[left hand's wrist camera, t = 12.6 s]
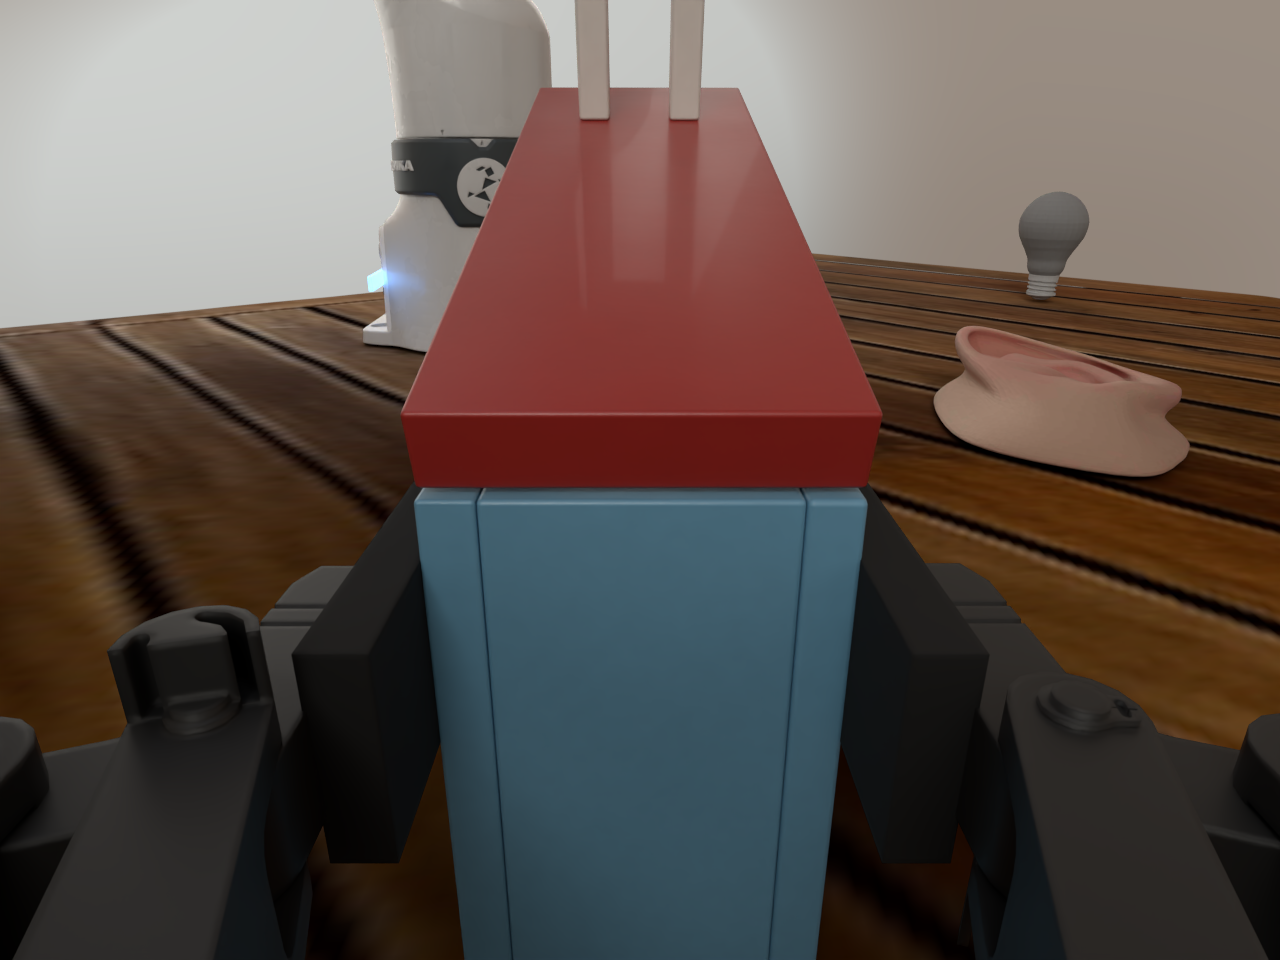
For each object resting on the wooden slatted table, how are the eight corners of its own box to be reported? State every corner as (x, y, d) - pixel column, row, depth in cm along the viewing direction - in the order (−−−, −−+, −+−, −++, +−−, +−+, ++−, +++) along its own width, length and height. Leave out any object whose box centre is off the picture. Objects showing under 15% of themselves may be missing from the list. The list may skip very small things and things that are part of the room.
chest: (559, 571, 27) (548, 298, 24) (718, 571, 27) (730, 298, 24) (470, 1027, 13) (412, 500, 9) (809, 1025, 13) (870, 500, 9)
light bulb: (1020, 303, 77) (1039, 192, 73) (998, 294, 82) (1014, 190, 79) (1084, 304, 76) (1107, 192, 73) (1058, 294, 82) (1077, 190, 78)
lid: (541, 129, 22) (514, -271, 17) (735, 129, 22) (764, -270, 17) (414, 490, 9) (169, -638, 5) (868, 490, 9) (1119, -635, 5)
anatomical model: (1249, 395, 32) (940, 371, 35) (1222, 489, 33) (928, 456, 37) (1169, 333, 43) (944, 320, 47) (1152, 404, 45) (934, 386, 48)
